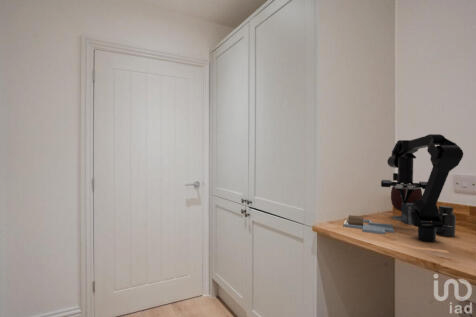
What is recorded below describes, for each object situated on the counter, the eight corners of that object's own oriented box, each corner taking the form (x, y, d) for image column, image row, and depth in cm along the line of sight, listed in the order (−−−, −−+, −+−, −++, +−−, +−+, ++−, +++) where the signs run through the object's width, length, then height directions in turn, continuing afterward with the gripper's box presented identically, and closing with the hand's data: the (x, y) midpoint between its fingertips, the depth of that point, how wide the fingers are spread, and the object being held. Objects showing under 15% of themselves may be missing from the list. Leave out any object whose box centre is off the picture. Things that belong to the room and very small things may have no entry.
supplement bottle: (446, 237, 111) (447, 208, 110) (430, 233, 117) (431, 205, 117) (459, 236, 112) (460, 207, 112) (443, 231, 119) (443, 204, 119)
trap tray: (391, 226, 127) (391, 222, 126) (395, 238, 109) (395, 233, 109) (345, 221, 135) (345, 217, 135) (342, 231, 118) (342, 226, 118)
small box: (423, 224, 132) (423, 202, 132) (431, 227, 126) (431, 205, 126) (400, 223, 133) (400, 202, 133) (407, 226, 127) (407, 204, 127)
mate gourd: (394, 221, 137) (394, 182, 137) (387, 215, 150) (388, 179, 150) (429, 224, 132) (430, 183, 132) (420, 217, 146) (420, 180, 145)
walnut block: (362, 227, 121) (362, 218, 121) (348, 225, 124) (348, 217, 124) (363, 224, 125) (363, 216, 125) (349, 223, 128) (349, 215, 128)
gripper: (427, 168, 122) (426, 203, 123) (380, 167, 130) (380, 199, 131) (432, 169, 112) (431, 207, 113) (381, 168, 120) (381, 203, 121)
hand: (404, 204), depth 119 cm, fingers closed
